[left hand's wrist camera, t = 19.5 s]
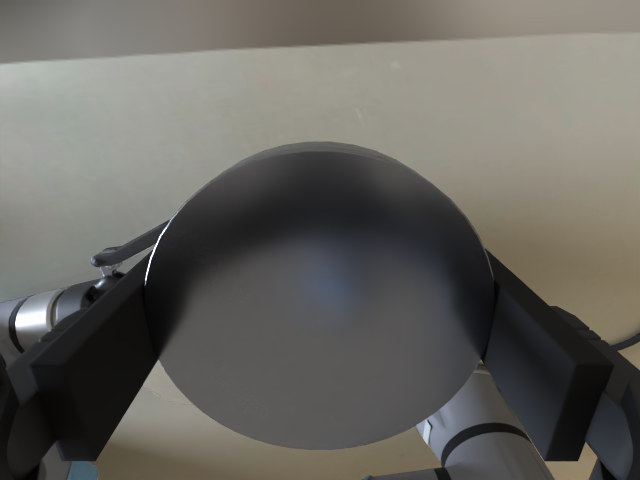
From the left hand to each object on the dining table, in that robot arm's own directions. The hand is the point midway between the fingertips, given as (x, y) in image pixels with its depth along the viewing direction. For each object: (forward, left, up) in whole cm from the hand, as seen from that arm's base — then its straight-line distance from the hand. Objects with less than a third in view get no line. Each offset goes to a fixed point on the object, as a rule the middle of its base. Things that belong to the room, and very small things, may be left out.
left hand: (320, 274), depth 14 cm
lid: (0, 0, +3) cm, 3 cm away
